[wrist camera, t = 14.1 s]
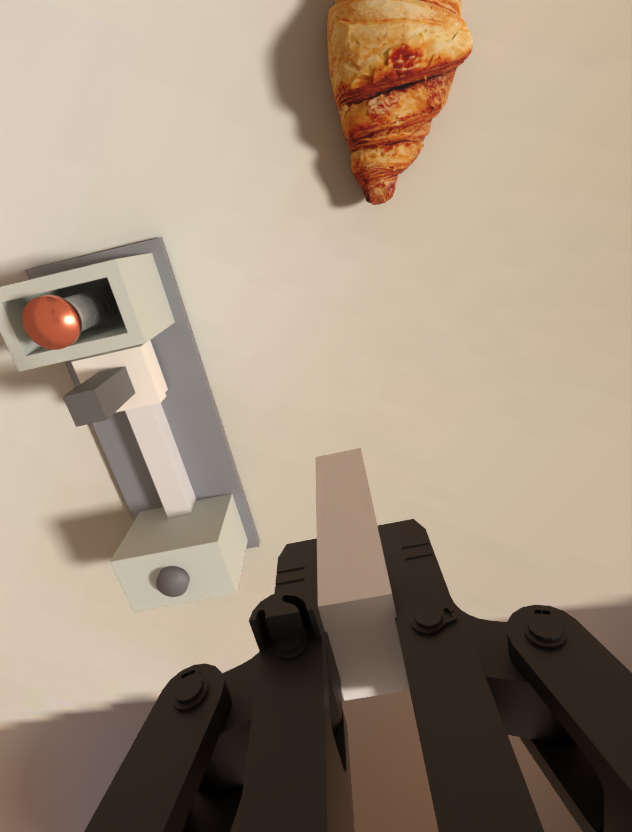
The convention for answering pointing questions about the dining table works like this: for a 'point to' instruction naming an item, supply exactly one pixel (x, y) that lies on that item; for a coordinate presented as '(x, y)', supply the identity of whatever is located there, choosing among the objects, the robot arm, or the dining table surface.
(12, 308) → the rail fixture
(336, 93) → the croissant
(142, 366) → the block
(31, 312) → the ball
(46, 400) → the dining table surface
